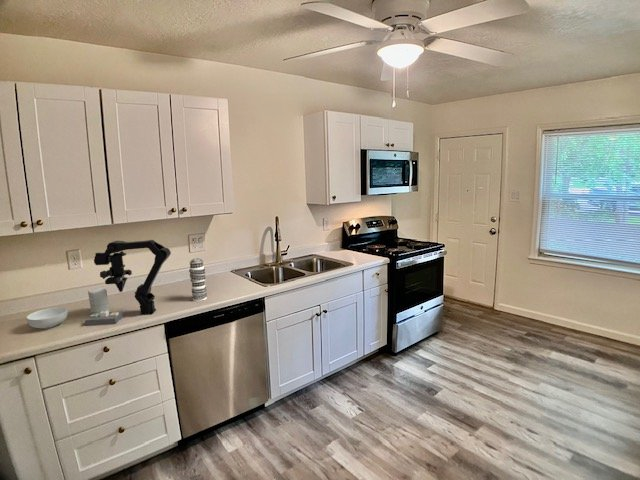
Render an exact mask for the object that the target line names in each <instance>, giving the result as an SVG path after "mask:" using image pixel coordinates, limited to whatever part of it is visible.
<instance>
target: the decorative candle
mask: <svg viewBox="0 0 640 480" xmlns="http://www.w3.org/2000/svg"><path fill="white" fill-rule="evenodd" d="M188 270H189V271H188V272H189V278H190V282H191V295H192V301H194V302H202V300H203V301H205V300H207V299H208V292H207V286H206V269H205V267H204V260H202V259H201V258H199V257H197V258H192V259H191V260H190V261H189V269H188Z"/></svg>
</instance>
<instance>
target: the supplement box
mask: <svg viewBox="0 0 640 480" xmlns="http://www.w3.org/2000/svg"><path fill="white" fill-rule="evenodd" d="M87 294H88V301H89V306H90V311H91V312H90V313H92V314H94V313H101V312H102V311H109V312H110V310H111V309H110V306H109V305H110V303H109V298H108V297H109V296H108V290H107V288H103V287H98V288H94V289H90V290H87Z"/></svg>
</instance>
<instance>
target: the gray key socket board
mask: <svg viewBox="0 0 640 480" xmlns="http://www.w3.org/2000/svg"><path fill="white" fill-rule="evenodd" d="M115 312H116V311H109V315H108V316H107V317H100V313H99V316H98V317H95V318H90V316H88V317H87V318H86V319H85V320H84V325H85V326H86V327H87V326H102V325H117V323H119V322H118V321H119V320H123V318H124V317H125V312H124V310H121V311H120V310H119V311H118V310H117V312H119V314H118V315H117V316H110V314H112V313H115ZM93 314H98V313H93Z"/></svg>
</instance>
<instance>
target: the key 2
mask: <svg viewBox="0 0 640 480" xmlns="http://www.w3.org/2000/svg"><path fill="white" fill-rule="evenodd" d="M114 312H115V313H112V314H110V316H117V315H118V314H119V312H118V311H114Z"/></svg>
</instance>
